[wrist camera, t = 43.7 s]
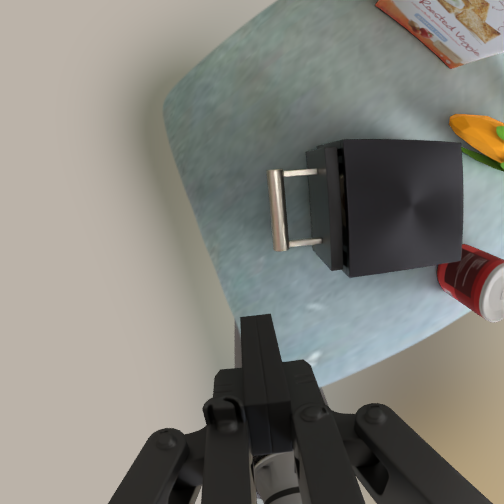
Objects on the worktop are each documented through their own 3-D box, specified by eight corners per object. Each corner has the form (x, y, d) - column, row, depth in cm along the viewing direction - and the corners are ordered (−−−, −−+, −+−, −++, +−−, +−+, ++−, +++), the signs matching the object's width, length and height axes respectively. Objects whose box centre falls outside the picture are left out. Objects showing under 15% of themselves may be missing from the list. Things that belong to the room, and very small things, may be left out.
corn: (552, 186, 30) (469, 149, 28) (519, 184, 37) (433, 154, 36) (552, 139, 28) (468, 89, 27) (520, 141, 36) (434, 102, 34)
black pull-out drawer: (270, 255, 37) (279, 277, 30) (261, 155, 34) (268, 150, 27) (406, 240, 38) (439, 256, 30) (403, 149, 35) (438, 147, 27)
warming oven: (323, 252, 38) (349, 278, 29) (316, 146, 35) (342, 139, 26) (418, 241, 39) (460, 261, 29) (416, 145, 35) (461, 142, 26)
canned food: (472, 286, 41) (517, 313, 30) (434, 298, 41) (478, 331, 30) (475, 238, 39) (525, 258, 28) (435, 247, 39) (485, 271, 28)
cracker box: (372, 7, 30) (454, -72, 10) (388, -15, 29) (465, -89, 9) (450, 72, 33) (559, 40, 13) (462, 47, 32) (561, 12, 11)
